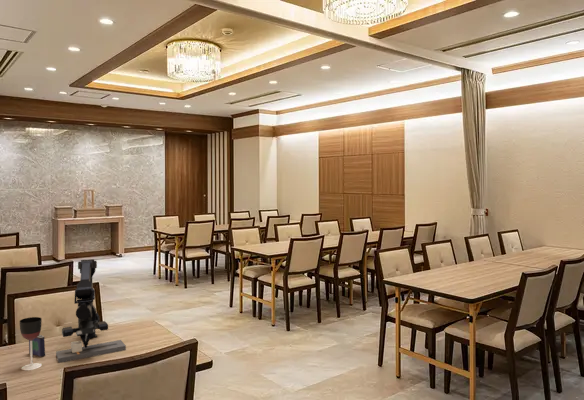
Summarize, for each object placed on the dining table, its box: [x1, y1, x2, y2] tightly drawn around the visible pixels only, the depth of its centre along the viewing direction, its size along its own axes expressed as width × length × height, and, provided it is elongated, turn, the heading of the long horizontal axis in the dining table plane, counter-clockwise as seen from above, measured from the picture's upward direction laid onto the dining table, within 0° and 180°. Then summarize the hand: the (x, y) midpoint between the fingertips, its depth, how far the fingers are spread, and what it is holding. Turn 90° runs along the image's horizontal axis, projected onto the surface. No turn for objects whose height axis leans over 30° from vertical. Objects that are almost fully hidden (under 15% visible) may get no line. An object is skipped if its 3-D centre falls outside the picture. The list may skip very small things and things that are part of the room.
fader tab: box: [70, 340, 83, 353], centre depth 204 cm, size 4×4×4 cm
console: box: [55, 339, 127, 364], centre depth 207 cm, size 10×28×2 cm, turn 123°
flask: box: [28, 333, 46, 358], centre depth 205 cm, size 9×3×11 cm, turn 65°
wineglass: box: [19, 316, 43, 371], centre depth 191 cm, size 8×9×20 cm
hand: (85, 347), depth 206 cm, fingers closed
